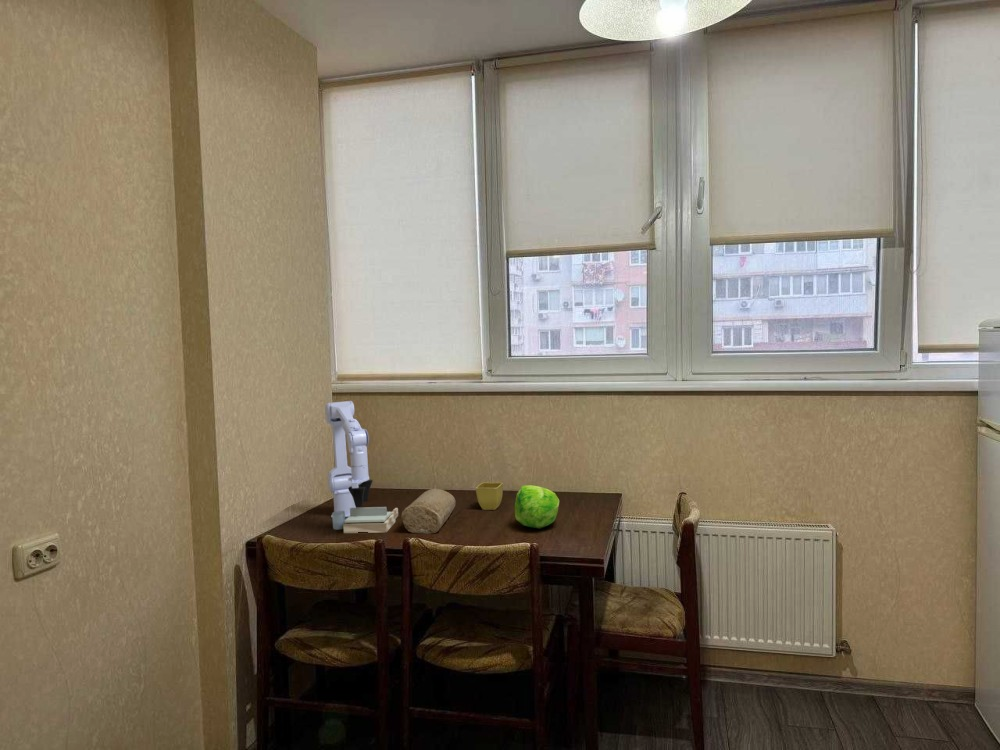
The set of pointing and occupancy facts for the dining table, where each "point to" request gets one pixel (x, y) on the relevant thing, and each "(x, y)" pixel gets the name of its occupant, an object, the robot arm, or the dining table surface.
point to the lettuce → (536, 506)
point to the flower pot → (489, 495)
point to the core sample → (428, 512)
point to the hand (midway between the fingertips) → (362, 504)
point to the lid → (368, 514)
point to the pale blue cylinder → (338, 519)
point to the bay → (372, 525)
